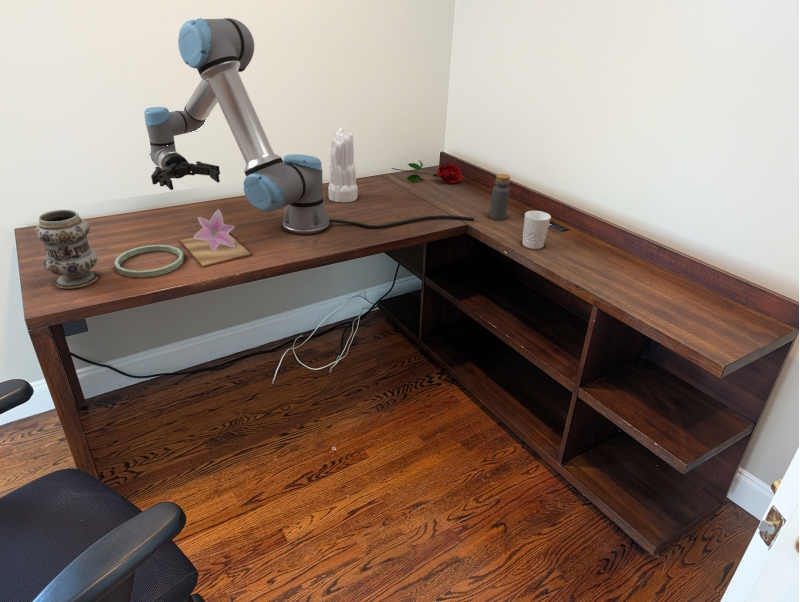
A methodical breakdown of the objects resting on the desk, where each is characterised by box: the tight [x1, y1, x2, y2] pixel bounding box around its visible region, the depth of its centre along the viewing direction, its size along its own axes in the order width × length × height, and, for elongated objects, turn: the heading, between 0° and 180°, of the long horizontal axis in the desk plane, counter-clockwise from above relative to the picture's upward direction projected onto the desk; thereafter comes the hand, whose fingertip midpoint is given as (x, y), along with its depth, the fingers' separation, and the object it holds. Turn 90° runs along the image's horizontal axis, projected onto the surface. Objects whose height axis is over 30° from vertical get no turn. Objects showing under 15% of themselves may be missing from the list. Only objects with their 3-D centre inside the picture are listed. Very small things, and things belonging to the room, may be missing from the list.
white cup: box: [521, 210, 552, 250], centre depth 167 cm, size 8×8×10 cm
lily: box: [192, 208, 235, 252], centre depth 157 cm, size 12×12×10 cm
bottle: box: [489, 173, 511, 221], centre depth 185 cm, size 6×6×15 cm
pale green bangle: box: [113, 244, 185, 279], centre depth 148 cm, size 17×17×2 cm
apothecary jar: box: [34, 209, 99, 290], centre depth 134 cm, size 12×12×18 cm
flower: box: [391, 160, 463, 185], centre depth 220 cm, size 9×10×30 cm
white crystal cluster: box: [327, 127, 359, 204], centre depth 195 cm, size 11×11×25 cm
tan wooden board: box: [180, 232, 252, 267], centre depth 158 cm, size 20×14×1 cm
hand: (195, 181), depth 156 cm, fingers open, 13 cm apart
